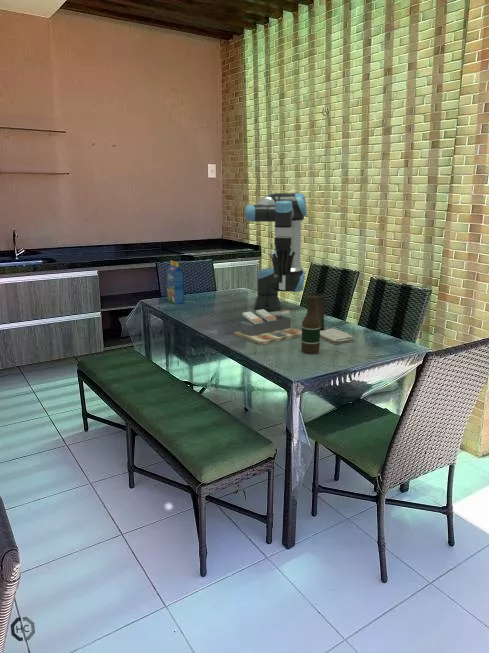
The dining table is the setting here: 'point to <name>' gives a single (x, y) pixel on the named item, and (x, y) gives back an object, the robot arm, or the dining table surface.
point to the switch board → (272, 336)
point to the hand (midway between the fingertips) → (282, 289)
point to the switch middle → (266, 315)
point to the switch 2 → (279, 313)
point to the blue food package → (175, 284)
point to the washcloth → (336, 336)
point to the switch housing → (265, 326)
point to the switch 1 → (252, 317)
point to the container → (320, 308)
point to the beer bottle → (311, 328)
